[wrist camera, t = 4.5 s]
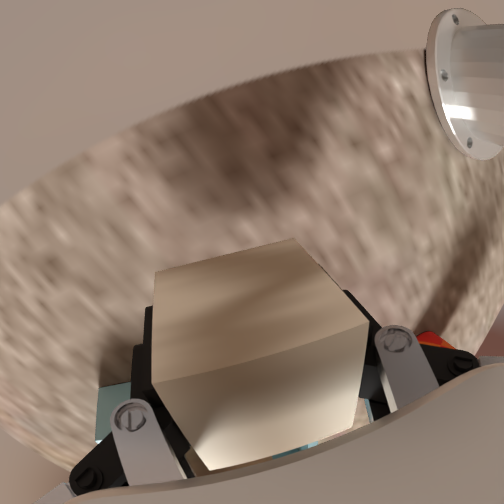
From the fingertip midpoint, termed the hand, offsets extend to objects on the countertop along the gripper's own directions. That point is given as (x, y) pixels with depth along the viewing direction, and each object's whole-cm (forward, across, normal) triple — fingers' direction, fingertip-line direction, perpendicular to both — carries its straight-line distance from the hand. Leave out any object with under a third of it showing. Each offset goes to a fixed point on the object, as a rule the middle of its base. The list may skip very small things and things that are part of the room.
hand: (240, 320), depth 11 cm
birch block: (+1, 0, 0) cm, 1 cm away
